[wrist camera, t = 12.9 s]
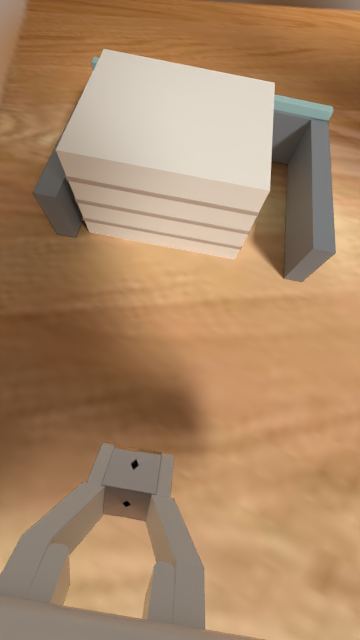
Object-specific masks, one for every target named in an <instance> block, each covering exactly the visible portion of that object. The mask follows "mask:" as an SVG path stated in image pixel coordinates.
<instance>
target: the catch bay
mask: <svg viewBox="0 0 360 640" xmlns="http://www.w3.org/2000/svg"><path fill="white" fill-rule="evenodd" d="M98 60H99V57H95V56H94V58H93V60H92V62H91V63H92V68H93V70H94V68H95V66H96V64H97V62H98ZM82 94H83V93H82ZM81 96H82V95H81ZM80 98H81V97H80ZM79 100H80V99H79ZM78 102H79V101H78ZM77 104H78V103H77ZM76 106H77V105H76ZM75 108H76V107H75ZM74 110H75V109H74ZM73 112H74V111H73ZM332 114H333V106H328V105H323V104H319V103H314V102H309V101H304V100H300V99H295V98H290V97H285V96H281V95H276V94H274V114H273V136H272V158H271V161H273V162H278V163H283V164H287V194H286V227H285V260H284V279H289V280H295V281H300V282H303V281H304V280H305V279H306V278H307V277H308V276H309V275H311V274H312V273H313V272H314V271H315V270H316V269H318V268H319V267H320V266H321V265H322V264H323V263H325V262H326V261H327V260H328V259H329V258H330V257H332V256H333V255H334V254H335V253H336V250H335V231H334V213H333V195H332V177H331V159H330V141H329V122H328V121H329V119H330V117H331V116H332ZM72 115H73V113H72ZM72 115H71V117H72ZM71 117H70V119H71ZM70 119H69V121H70ZM69 121H68V123H69ZM68 123H67V125H68ZM67 125H66V127H67ZM66 127H65V129H66ZM65 129H64V131H65ZM64 131H63V133H64ZM63 133H62V135H61V137H60V139H59V141H58V143H57V145H56V147H55V149H54V151H53V153H52V155H51V157H50V159H49V161H48V163H47V165H46V167H45V169H44V171H43V173H42V175H41V177H40V179H39V181H38V183H37V185H36V187H35V189H34V191H33V194H34V196H35V198H36V199H37V201H38V203H39V204H40V206H41V208H42V209H43V211H44V213H45V214H46V216H47V218H48V220H49V221H50V223H51V225H52V226H53V228H54V230H55V231H56V233H57V234H59V235H64V236H70V237H75V238H76V236H77V234H78V231H79V228H80V226H81V223H82V221H83V216H82V213H81V211H80V208H79V206H78V203H76V201H75V196H74V194H73V191H72V189H71V186H70V184H69V181H67V180H66V177H65V175H66V174H65V172H64V169H63V167H62V164H61V162H60V159H59V157H58V154H57V152H56V148H57V146H58V144H59V142H60V140H61V138H62V136H63Z"/></svg>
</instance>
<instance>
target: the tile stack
mask: <svg viewBox="0 0 360 640" xmlns="http://www.w3.org/2000/svg"><path fill="white" fill-rule="evenodd" d="M274 92H275V83H273V82H268V81H263V80H258V79H253V78H248V77H243V76H238V75H233V74H228V73H223V72H218V71H213V70H208V69H203V68H198V67H193V66H188V65H183V64H178V63H173V62H168V61H163V60H158V59H153V58H148V57H143V56H138V55H133V54H128V53H123V52H118V51H113V50H108V49H104V50H103V52H102V54H101V56H100V58H99V60H98V62H97V64H96V66H95V68H94V70H93V73H92V75H91V77H90V79H89V81H88V83H87V85H86V87H85V89H84V91H83V94H82V96H81V98H80V100H79V102H78V104H77V106H76V108H75V110H74V112H73V115H72V117H71V119H70V121H69V123H68V125H67V127H66V129H65V131H64V133H63V136H62V138H61V140H60V142H59V144H58V146H57V148H56V152H57V154H58V157H59V159H60V162H61V164H62V167H63V169H64V172H65V174H66V175H65V177H66V180H67V181H69V184H70V186H71V189H72V191H73V194H74V196H75V201H76V203H78V206H79V208H80V211H81V213H82V216H83V221H85V223H86V225H87V228H88V230H89V233H95V234H100V235H105V236H111V237H116V238H121V239H127V240H132V241H138V242H143V243H148V244H154V245H159V246H165V247H170V248H175V249H181V250H186V251H191V252H197V253H202V254H208V255H213V256H218V257H224V258H229V259H235V258H236V256H237V254H238V252H239V250H241V248H242V244H243V242H244V240H245V238H246V236H247V235H249V233H250V229H251V227H252V225H253V223H254V221H255V219H256V217H257V216H258V215H259V213H260V209H261V207H262V205H263V203H264V201H265V199H266V198H267V196H268V194H269V192H270V180H271V158H272V136H273V114H274Z"/></svg>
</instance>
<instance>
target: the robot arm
mask: <svg viewBox="0 0 360 640" xmlns="http://www.w3.org/2000/svg"><path fill="white" fill-rule="evenodd" d="M173 464H174V455H172V454H165V453H162V452H156V451H150V450H143V449H136V448H130V447H125V446H120V445H116V444H110V443H105V442H104V443H103V444H102V446H101V448H100V450H99V453H98V455H97V458H96V460H95V463H94V465H93V468H92V470H91V473H90V475H89V478H88V480H87V483H86V482H82V483H81V484H80V485H79V486H78V487H77V488H75V489H74V490H73V491H72V492H71V493H70V494H69V495H67V496H66V497H65V498H64V499H63V500H62V501H61V502H59V503H58V504H57V505H56V506H55V507H54V508H53V509H51V510H50V511H49V512H48V513H47V514H46V515H45V516H43V517H42V518H41V519H40V520H39V521H38V522H37V523H35V524H34V525H33V526H32V527H31V528H30V529H29V530H27V531H26V532H25V533H24V534H23V535H22V536H21V538H20V540H19V541H18V543H17V545H16V547H15V549H14V551H13V553H12V554H11V556H10V558H9V560H8V562H7V564H6V566H5V567H4V569H3V571H2V573H1V575H0V640H264V639H258V638H252V637H246V636H241V635H235V634H229V633H223V632H217V631H211V630H205V594H204V567H203V564H202V562H201V560H200V557H199V555H198V553H197V550H196V548H195V546H194V543H193V541H192V539H191V536H190V534H189V532H188V530H187V527H186V525H185V523H184V520H183V518H182V516H181V513H180V511H179V509H178V506H177V504H176V502H175V499H174V498H170V496H171V486H172V475H173ZM103 514H106V515H113V516H120V517H126V518H131V519H136V520H141V521H145V522H146V526H147V529H148V533H149V537H150V540H151V544H152V548H153V551H154V555H155V559H156V562H157V563H156V564H155V566H154V569H153V572H152V575H151V579H150V582H149V586H148V589H147V592H146V596H145V602H144V609H143V617H142V619H139V618H133V617H128V616H122V615H116V614H110V613H104V612H98V611H92V610H86V609H80V608H74V607H68V606H63V604H64V601H65V598H66V595H67V592H68V589H69V586H70V568H69V555H70V554H71V553H72V551H73V550H74V549H75V548H76V547H77V546H78V544H79V543H80V542H81V541H82V540H83V538H84V537H85V536H86V535H87V534H88V533H89V531H90V530H91V529H92V528H93V527H94V525H95V524H96V523H97V522H98V521H99V520H100V518H101V517H102V516H103Z"/></svg>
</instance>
